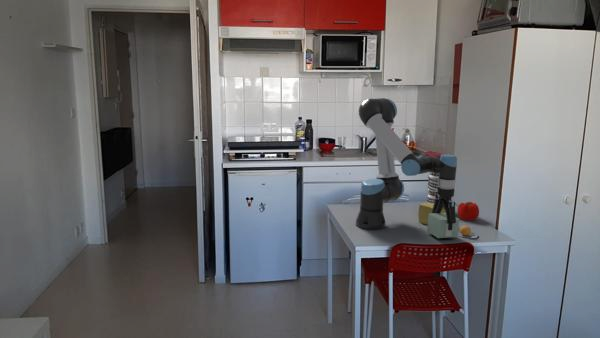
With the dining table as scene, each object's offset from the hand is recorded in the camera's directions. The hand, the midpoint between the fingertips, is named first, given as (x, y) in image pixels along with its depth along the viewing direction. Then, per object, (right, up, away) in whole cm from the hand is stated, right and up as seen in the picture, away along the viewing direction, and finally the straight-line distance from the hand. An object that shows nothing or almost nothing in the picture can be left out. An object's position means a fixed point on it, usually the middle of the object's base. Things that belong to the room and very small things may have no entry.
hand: (442, 232), depth 217 cm
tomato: (+23, +3, +30) cm, 38 cm away
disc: (+14, -2, +4) cm, 14 cm away
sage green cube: (0, -1, 0) cm, 1 cm away
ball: (+12, 0, +2) cm, 12 cm away
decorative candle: (+10, +7, +47) cm, 48 cm away
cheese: (+1, +2, +22) cm, 22 cm away
